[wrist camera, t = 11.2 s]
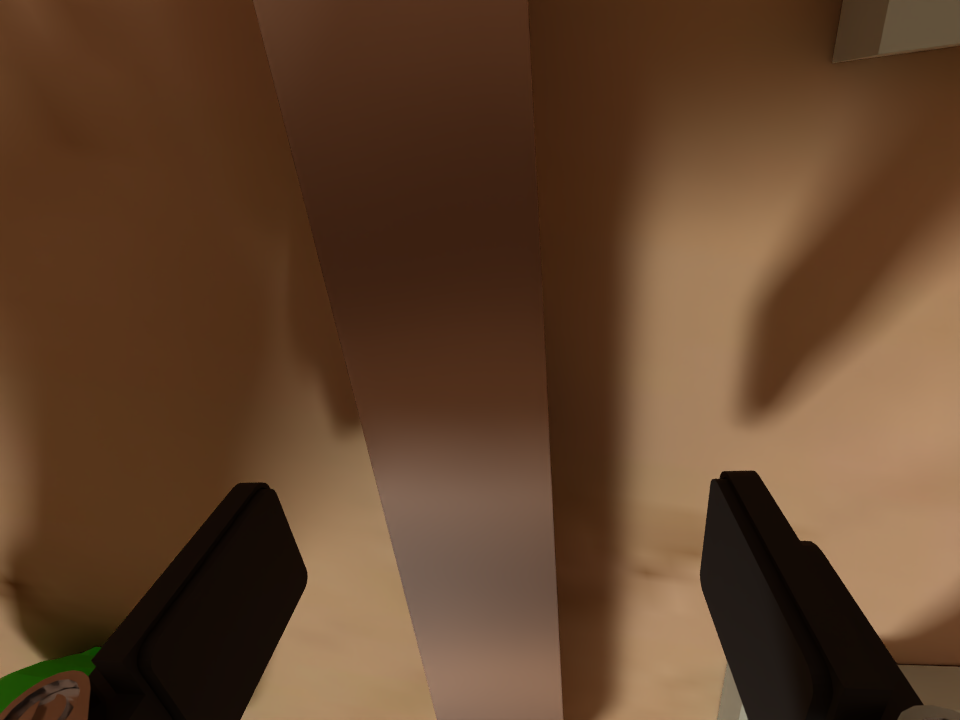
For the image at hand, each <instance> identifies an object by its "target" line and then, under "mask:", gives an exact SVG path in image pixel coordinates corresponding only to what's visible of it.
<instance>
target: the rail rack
mask: <svg viewBox="0 0 960 720" xmlns="http://www.w3.org/2000/svg"><path fill="white" fill-rule="evenodd" d="M954 46H960V0H843V3H842V8H841V14H840V20H839V26H838V31H837V37H836V43H835V48H834V54H833V60H832V63H838V62H845V61H852V60H860V59H867V58H874V57H881V56H889V55H896V54H903V53H910V52H918V51H925V50H932V49H940V48H947V47H954ZM898 667H899V668H900V670H901V671H902V673H903V674H904V676H905V677H906V679H907V680H908V682H909V683H910V685H911V686H912V688H913V689H914V691H915V692H916V694H917V695H918V697H919V698H920V700H921V701H922V703H923V704H924V705H934V706H938V707H943V708H947V709H951V710H955V711H957V712H959V713H960V667H954V666H921V665H898ZM717 720H748V718H747V715H746V713H745V710H744V707H743V704H742V701H741V698H740V696H739V693H738V690H737V687H736V684H735V682H734V679H733V676H732V673H731V670H730V667H729V665H728V662H727V667H726V673H725V679H724V684H723V690H722V696H721V702H720V707H719V713H718V719H717Z"/></svg>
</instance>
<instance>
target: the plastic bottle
mask: <svg viewBox="0 0 960 720" xmlns="http://www.w3.org/2000/svg"><path fill="white" fill-rule="evenodd" d="M101 648H102V647H94V648H91V649H89V650H87V651H85V652H83V653H81V654H74V655H70V656H66V657H62V658H59V659H53V660H48V661H43V662H39V663H37V664H34V665H31V666H29V667H26V668H24V669H21V670H18V671H16V672H13V673H10V674H8V675H6V676H4V677H2V678H0V713H1V712H2V711H3V710H4V709H5V708H6V707H7V706H8V705H9V704H10V703H11V702H12V701H13V700H15V699H16V698H17V697H18V696H20V695H21V694H22V693H23V692H25V691H26V690H27V689H29V688H30V687H32V686H34V685H35V684H37V683H39V682H40V681H42V680H44V679H46V678H48V677H50V676H53V675H55V674H58V673H61V672H66V671H71V670H75V671H81V672H84V673H85V674H86V675H87V676H89V675H90V673H91V672H92V671H93V670H94V668H95V667H96V666H95V665H94V664H93V662H92V661H91V660H92V659H93V658H94V656H95V655H96V654H97V653H98V651H99V650H100V649H101Z"/></svg>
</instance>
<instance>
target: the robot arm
mask: <svg viewBox="0 0 960 720" xmlns="http://www.w3.org/2000/svg"><path fill="white" fill-rule="evenodd" d="M307 577H308V576H307V570H306V567H305V565H304V562H303V559H302V557H301V554H300V552H299V549H298V547H297V544H296V542H295V539H294V537H293V534H292V532H291V529H290V527H289V524H288V521H287V519H286V516H285V514H284V511H283V509H282V506H281V504H280V501H279V499H278V496H277V494H276V492H275V490H273V489H270V487H269V486H268V485H267V484H266V483H239V484H237V485H236V486H235V487H233V489H232V490H231V491H230V492H229V493H228V495H227V496H226V497H225V498H224V500H223V501H222V502H221V503H220V504H219V506H218V507H217V508H216V509H215V510H214V512H213V513H212V514H211V515H210V517H209V518H208V519H207V520H206V521H205V523H204V524H203V525H202V526H201V527H200V529H199V530H198V531H197V532H196V534H195V535H194V536H193V537H192V538H191V540H190V541H189V542H188V543H187V545H186V546H185V547H184V548H183V549H182V551H181V552H180V553H179V554H178V555H177V557H176V558H175V559H174V560H173V562H172V563H171V564H170V565H169V566H168V568H167V569H166V570H165V571H164V572H163V574H162V575H161V576H160V577H159V579H158V580H157V581H156V582H155V583H154V585H153V586H152V587H151V588H150V589H149V591H148V592H147V593H146V594H145V596H144V597H143V598H142V599H141V600H140V602H139V603H138V604H137V605H136V606H135V608H134V609H133V610H132V611H131V613H130V614H129V615H128V616H127V617H126V619H125V620H124V621H123V622H122V624H121V625H120V626H119V627H118V628H117V630H116V631H115V632H114V633H113V634H112V636H111V637H110V638H109V639H108V641H107V642H106V643H105V644H104V645H103V647H102V648H101V649H100V650H99V651H98V653H97V654H96V655H95V656H94V658H93V659H92V660H91V661H92V662H93V664H94V665H95V666H96V667H95V668H94V670H93V671H92V672H91V673H90V675H89V676H87V675H86V674H85V673H84V672H81V671H75V670H71V671H66V672H61V673H58V674H55V675H53V676H50V677H48V678H46V679H44V680H42V681H40V682H39V683H37V684H35V685H34V686H32V687H30V688H29V689H27V690H26V691H25V692H23V693H22V694H21V695H20V696H18V697H17V698H16V699H15V700H13V701H12V702H11V703H10V704H9V705H8V706H7V707H6V708H5V709H4V710H3V711H2V712H1V713H0V720H240V719H241V717H242V715H243V713H244V711H245V709H246V707H247V705H248V703H249V701H250V699H251V697H252V695H253V693H254V691H255V689H256V687H257V685H258V683H259V681H260V679H261V677H262V675H263V673H264V671H265V669H266V667H267V664H268V662H269V660H270V658H271V656H272V654H273V652H274V650H275V648H276V646H277V644H278V642H279V640H280V638H281V636H282V634H283V632H284V630H285V628H286V626H287V624H288V622H289V620H290V618H291V616H292V614H293V612H294V610H295V608H296V606H297V604H298V602H299V600H300V598H301V595H302V593H303V591H304V589H305V587H306V584H307ZM700 581H701V587H702V591H703V594H704V597H705V600H706V602H707V605H708V608H709V611H710V614H711V617H712V619H713V622H714V625H715V628H716V631H717V633H718V636H719V639H720V642H721V645H722V648H723V650H724V653H725V656H726V659H727V662H728V665H729V667H730V670H731V673H732V676H733V679H734V682H735V684H736V687H737V690H738V693H739V696H740V698H741V701H742V704H743V707H744V710H745V713H746V715H747V718H748V720H960V713H959V712H957V711H955V710H951V709H947V708H943V707H938V706H934V705H924V704H923V703H922V701H921V700H920V698H919V697H918V695H917V694H916V692H915V691H914V689H913V688H912V686H911V685H910V683H909V682H908V680H907V679H906V677H905V676H904V674H903V673H902V671H901V670H900V668H899V667H898V665H897V664H896V662H895V661H894V659H893V658H892V656H891V654H890V653H889V651H888V650H887V648H886V647H885V645H884V644H883V642H882V641H881V639H880V638H879V636H878V635H877V633H876V632H875V630H874V629H873V627H872V626H871V624H870V623H869V621H868V620H867V618H866V617H865V615H864V614H863V612H862V611H861V609H860V608H859V606H858V605H857V603H856V602H855V600H854V599H853V597H852V596H851V594H850V593H849V591H848V590H847V588H846V587H845V585H844V584H843V582H842V581H841V579H840V578H839V576H838V575H837V573H836V572H835V570H834V569H833V567H832V566H831V564H830V563H829V561H828V560H827V558H826V557H825V555H824V554H823V552H822V551H821V550H820V549H819V547H818V546H817V545H816V544H814V543H813V542H811V541H800V540H799V539H798V537H797V535H796V534H795V532H794V531H793V529H792V527H791V526H790V524H789V523H788V521H787V519H786V518H785V516H784V515H783V513H782V511H781V510H780V508H779V507H778V505H777V504H776V502H775V500H774V499H773V497H772V496H771V494H770V492H769V491H768V489H767V488H766V486H765V484H764V483H763V481H762V480H761V478H760V476H759V475H758V474H757V473H756V472H755V471H724V472H722V473H721V475H720V479H712V481H711V484H710V493H709V501H708V509H707V518H706V526H705V535H704V543H703V552H702V560H701V569H700Z"/></svg>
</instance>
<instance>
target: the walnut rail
mask: <svg viewBox="0 0 960 720" xmlns="http://www.w3.org/2000/svg"><path fill="white" fill-rule="evenodd" d="M253 3H254V7H255V11H256V15H257V19H258V23H259V27H260V31H261V35H262V39H263V42H264V46H265V50H266V54H267V58H268V62H269V66H270V70H271V74H272V78H273V81H274V85H275V89H276V93H277V97H278V101H279V105H280V109H281V113H282V117H283V121H284V124H285V128H286V132H287V136H288V140H289V144H290V148H291V152H292V156H293V160H294V163H295V167H296V171H297V175H298V179H299V183H300V187H301V191H302V195H303V199H304V202H305V206H306V210H307V214H308V218H309V222H310V226H311V230H312V234H313V238H314V242H315V245H316V249H317V253H318V257H319V261H320V265H321V269H322V273H323V277H324V281H325V284H326V288H327V292H328V296H329V300H330V304H331V308H332V312H333V316H334V320H335V324H336V327H337V331H338V335H339V339H340V343H341V347H342V351H343V355H344V359H345V363H346V366H347V370H348V374H349V378H350V382H351V386H352V390H353V394H354V398H355V402H356V406H357V409H358V413H359V417H360V421H361V425H362V429H363V433H364V437H365V441H366V445H367V448H368V452H369V456H370V460H371V464H372V468H373V472H374V476H375V480H376V484H377V488H378V491H379V495H380V499H381V503H382V507H383V511H384V515H385V519H386V523H387V527H388V530H389V534H390V538H391V542H392V546H393V550H394V554H395V558H396V562H397V566H398V570H399V573H400V577H401V581H402V585H403V589H404V593H405V597H406V601H407V605H408V609H409V612H410V616H411V620H412V624H413V628H414V632H415V636H416V640H417V644H418V648H419V652H420V655H421V659H422V663H423V667H424V671H425V675H426V679H427V683H428V687H429V691H430V694H431V698H432V702H433V706H434V710H435V714H436V718H437V720H563V700H562V679H561V659H560V639H559V619H558V598H557V578H556V558H555V537H554V517H553V497H552V476H551V456H550V436H549V415H548V395H547V375H546V355H545V334H544V314H543V294H542V273H541V253H540V233H539V212H538V192H537V172H536V151H535V131H534V111H533V91H532V70H531V50H530V30H529V9H528V0H253Z"/></svg>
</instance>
